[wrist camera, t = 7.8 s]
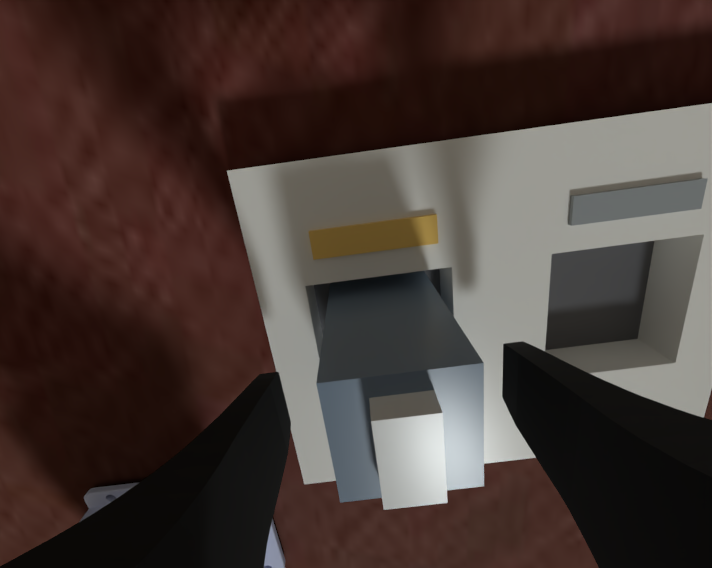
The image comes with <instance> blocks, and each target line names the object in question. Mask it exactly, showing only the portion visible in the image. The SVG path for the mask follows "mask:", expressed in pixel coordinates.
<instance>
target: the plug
mask: <svg viewBox="0 0 712 568" xmlns="http://www.w3.org/2000/svg"><path fill="white" fill-rule="evenodd" d="M316 385H317V389H318V394H319V399H320V404H321V409H322V414H323V419H324V424H325V429H326V434H327V439H328V443H329V448H330V453H331V458H332V463H333V468H334V473H335V478H336V483H337V488H338V493H339V498H340V502H348V501H357V500H366V499H375V498H382V501H383V508H384V510H387V509H396V508H405V507H414V506H423V505H431V504H440V503H448V502H447V490H454V489H463V488H472V487H481V486H484V363H483V361H482V360H481V358H480V356H479V355H478V353H477V352H476V350H475V349H474V347H473V346H472V344H471V343H470V341H469V340H468V338H467V336H466V335H465V333H464V332H463V330H462V329H461V327H460V326H459V324H458V323H457V321H456V320H455V318H454V316H453V315H452V313H451V312H450V310H449V309H448V307H447V306H446V304H445V303H444V301H443V300H442V298H441V296H440V295H439V293H438V292H437V290H436V289H435V287H434V286H433V284H432V283H431V281H430V280H429V278H428V276H427V275H426V273H425V272H424V271H417V272H409V273H402V274H394V275H386V276H379V277H371V278H363V279H355V280H348V281H340V282H332V283H330V289H329V296H328V303H327V310H326V317H325V325H324V332H323V339H322V346H321V353H320V360H319V368H318V375H317V382H316Z"/></svg>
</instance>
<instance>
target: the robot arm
mask: <svg viewBox="0 0 712 568" xmlns="http://www.w3.org/2000/svg"><path fill="white" fill-rule="evenodd" d="M502 397H503V400H504V402H505V404H506V406H507V408H508V411H509V413H510V415H511V417H512V419H513V421H514V423H515V425H516V427H517V428H518V430H519V432H520V433H521V435H522V436H523V438H524V439H525V441H526V443H527V444H528V446H529V447H530V449H531V450H532V452H533V453H534V455H535V457H536V458H537V460H538V461H539V463H540V464H541V466H542V467H543V469H544V470H545V472H546V473H547V475H548V477H549V478H550V480H551V481H552V483H553V484H554V486H555V487H556V489H557V490H558V492H559V494H560V495H561V497H562V499H563V500H564V502H565V504H566V505H567V507H568V509H569V510H570V512H571V514H572V516H573V518H574V520H575V522H576V524H577V526H578V527H579V529H580V531H581V533H582V535H583V537H584V539H585V541H586V543H587V545H588V546H589V548H590V550H591V552H592V554H593V556H594V558H595V560H596V562H597V564H598V566H599V568H712V420H709V419H706V418H703V417H700V416H696V415H693V414H690V413H687V412H684V411H681V410H678V409H675V408H672V407H670V406H667V405H664V404H662V403H659V402H656V401H653V400H651V399H648V398H645V397H643V396H640V395H638V394H635V393H633V392H630V391H628V390H625V389H623V388H621V387H618V386H616V385H614V384H612V383H609V382H607V381H605V380H602V379H600V378H598V377H596V376H594V375H592V374H589V373H587V372H585V371H583V370H581V369H579V368H577V367H575V366H573V365H571V364H569V363H567V362H565V361H563V360H561V359H559V358H557V357H555V356H553V355H551V354H549V353H547V352H545V351H543V350H541V349H539V348H537V347H535V346H533V345H530V344H528V343H526V342H523V341H521V342H513V343H505V344H503V384H502ZM290 428H291V420H290V416H289V412H288V408H287V404H286V400H285V396H284V392H283V388H282V384H281V379H280V375H279V372H273V373H266V374H260V375H259V376H258V377H257V378H255V379H254V380H253V382H252V383H251V384H250V385H249V386H248V387H247V388H246V389H245V390H244V391H243V392H242V393H241V394H240V395H239V396H238V397H237V398H236V399H235V400H234V401H233V402H232V403H231V404H230V405H229V406H228V407H227V408H226V409H225V411H224V412H223V413H222V414H221V415H220V416H219V417H218V418H216V419H215V420H214V421H213V422H212V423H211V424H210V425H209V426H208V427H207V428H206V429H205V430H204V431H203V432H202V433H200V434H199V435H198V436H197V437H196V438H195V439H194V440H193V441H192V442H191V443H190V444H188V445H187V446H186V447H185V448H184V449H183V450H181V451H180V452H179V453H178V454H176V455H175V456H174V457H173V458H171V459H170V460H169V461H168V462H166V463H165V464H164V465H163V466H161V467H160V468H159V469H158V470H156V471H155V472H154V473H152V474H151V475H149V476H148V477H147V478H145V479H144V480H142V481H141V482H138V483H130V484H121V485H113V486H104V487H96V488H91V489H90V490H88V492H87V493H86V494H85V496H84V500H85V503H86V504H87V506H88V508H89V509H88V511H87V512H86V513H85V515H84V516H83V518H82V519H81V520H80V522H79V523H77V524H75V525H74V526H72V527H71V528H69V529H67V530H65V531H64V532H62V533H60V534H59V535H57V536H55V537H53V538H52V539H50V540H48V541H46V542H44V543H42V544H41V545H39V546H37V547H35V548H33V549H31V550H30V551H28V552H26V553H24V554H22V555H21V556H19V557H17V558H15V559H13V560H11V561H10V562H8V563H6V564H4V565H2V566H0V568H284V567H285V558H284V554H283V551H282V548H281V545H280V541H279V538H278V535H277V532H276V528H275V525H274V522H273V514H274V510H275V506H276V502H277V497H278V493H279V489H280V485H281V481H282V476H283V472H284V468H285V463H286V459H287V455H288V447H289V439H290Z"/></svg>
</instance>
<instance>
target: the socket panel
mask: <svg viewBox="0 0 712 568" xmlns="http://www.w3.org/2000/svg"><path fill="white" fill-rule="evenodd" d="M227 174H228V178H229V182H230V186H231V190H232V194H233V198H234V202H235V206H236V210H237V214H238V218H239V222H240V226H241V230H242V234H243V238H244V242H245V246H246V251H247V255H248V259H249V263H250V267H251V271H252V275H253V279H254V283H255V287H256V291H257V295H258V299H259V303H260V307H261V311H262V315H263V319H264V323H265V327H266V331H267V335H268V339H269V343H270V347H271V351H272V355H273V359H274V363H275V367H276V371H277V372H279V375H280V379H281V384H282V388H283V392H284V396H285V400H286V404H287V408H288V412H289V416H290V420H291V432H292V436H293V440H294V444H295V448H296V452H297V456H298V460H299V464H300V468H301V472H302V476H303V480H304V484H311V483H320V482H328V481H336V478H335V473H334V468H333V463H332V458H331V453H330V448H329V443H328V439H327V434H326V429H325V424H324V419H323V414H322V409H321V404H320V399H319V394H318V389H317V385H316V382H317V375H318V368H319V360H320V353H321V346H322V339H323V332H324V325H325V317H326V310H327V303H328V296H329V289H330V283H332V282H340V281H348V280H355V279H363V278H371V277H379V276H386V275H394V274H402V273H409V272H417V271H424V272H425V273H426V275H427V276H428V278H429V280H430V281H431V283H432V284H433V286H434V287H435V289H436V290H437V292H438V293H439V295H440V296H441V298H442V300H443V301H444V303H445V304H446V306H447V307H448V309H449V310H450V312H451V313H452V315H453V316H454V318H455V320H456V321H457V323H458V324H459V326H460V327H461V329H462V330H463V332H464V333H465V335H466V336H467V338H468V340H469V341H470V343H471V344H472V346H473V347H474V349H475V350H476V352H477V353H478V355H479V356H480V358H481V360H482V361H483V363H484V463H493V462H502V461H510V460H519V459H528V458H536V457H535V455H534V453H533V452H532V450H531V449H530V447H529V446H528V444H527V443H526V441H525V439H524V438H523V436H522V435H521V433H520V432H519V430H518V428H517V427H516V425H515V423H514V421H513V419H512V417H511V415H510V413H509V411H508V408H507V406H506V404H505V402H504V400H503V397H502V384H503V344H505V343H513V342H521V341H523V342H526V343H528V344H530V345H533V346H535V347H537V348H539V349H541V350H543V351H545V352H547V353H549V354H551V355H553V356H555V357H557V358H559V359H561V360H563V361H565V362H567V363H569V364H571V365H573V366H575V367H577V368H579V369H581V370H583V371H585V372H587V373H589V374H592V375H594V376H596V377H598V378H600V379H602V380H605V381H607V382H609V383H612V384H614V385H616V386H618V387H621V388H623V389H625V390H628V391H630V392H633V393H635V394H638V395H640V396H643V397H645V398H648V399H651V400H653V401H656V402H659V403H662V404H664V405H667V406H670V407H672V408H675V409H678V410H681V411H684V412H687V413H690V414H693V415H696V416H700V417H703V418H704V415H705V411H706V407H707V404H708V400H709V396H710V393H711V389H712V103H709V104H702V105H694V106H687V107H680V108H673V109H666V110H659V111H651V112H644V113H637V114H630V115H623V116H616V117H608V118H601V119H594V120H587V121H580V122H572V123H565V124H558V125H551V126H544V127H537V128H529V129H522V130H515V131H508V132H501V133H494V134H486V135H479V136H472V137H465V138H458V139H451V140H443V141H436V142H429V143H422V144H415V145H408V146H400V147H393V148H386V149H379V150H372V151H364V152H357V153H350V154H343V155H336V156H329V157H321V158H314V159H307V160H300V161H293V162H286V163H278V164H271V165H264V166H257V167H250V168H243V169H235V170H228V171H227Z"/></svg>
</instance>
